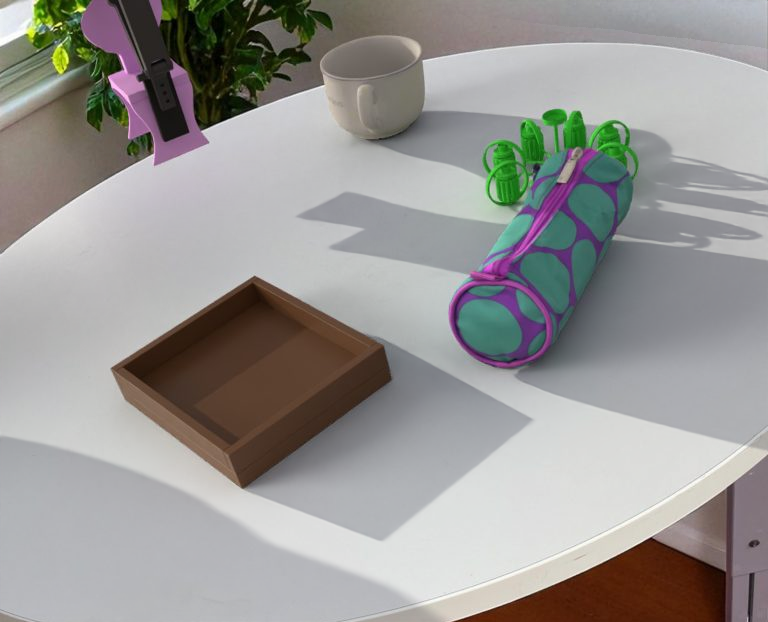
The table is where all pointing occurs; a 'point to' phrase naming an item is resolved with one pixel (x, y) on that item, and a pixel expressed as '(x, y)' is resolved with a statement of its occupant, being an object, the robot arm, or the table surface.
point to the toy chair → (111, 37)
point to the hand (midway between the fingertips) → (162, 120)
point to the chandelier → (535, 150)
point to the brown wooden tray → (252, 378)
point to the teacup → (375, 85)
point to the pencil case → (542, 259)
